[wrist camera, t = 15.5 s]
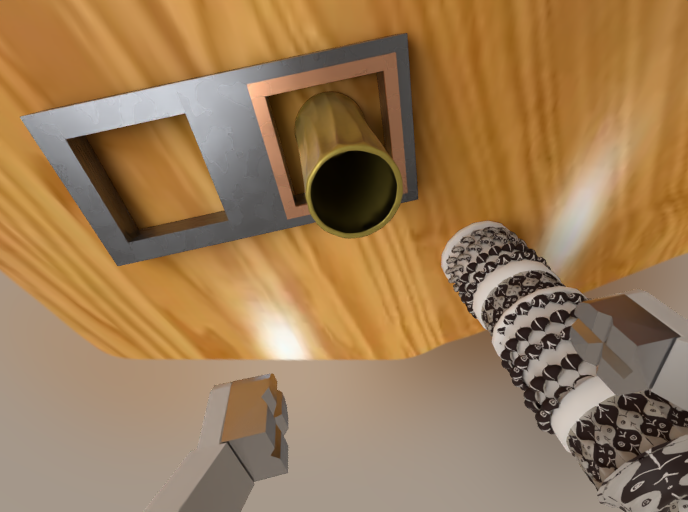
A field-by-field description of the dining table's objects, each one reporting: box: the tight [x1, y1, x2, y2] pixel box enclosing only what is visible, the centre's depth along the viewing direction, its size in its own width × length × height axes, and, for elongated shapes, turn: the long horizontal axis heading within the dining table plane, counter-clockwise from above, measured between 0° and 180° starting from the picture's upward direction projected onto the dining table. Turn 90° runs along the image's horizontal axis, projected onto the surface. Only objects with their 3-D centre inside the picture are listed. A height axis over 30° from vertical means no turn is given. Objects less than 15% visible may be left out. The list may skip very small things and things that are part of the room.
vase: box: [294, 92, 403, 238], centre depth 24 cm, size 6×6×14 cm
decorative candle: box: [441, 221, 688, 512], centre depth 28 cm, size 9×9×25 cm
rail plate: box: [20, 33, 418, 266], centre depth 29 cm, size 13×28×3 cm, turn 100°
